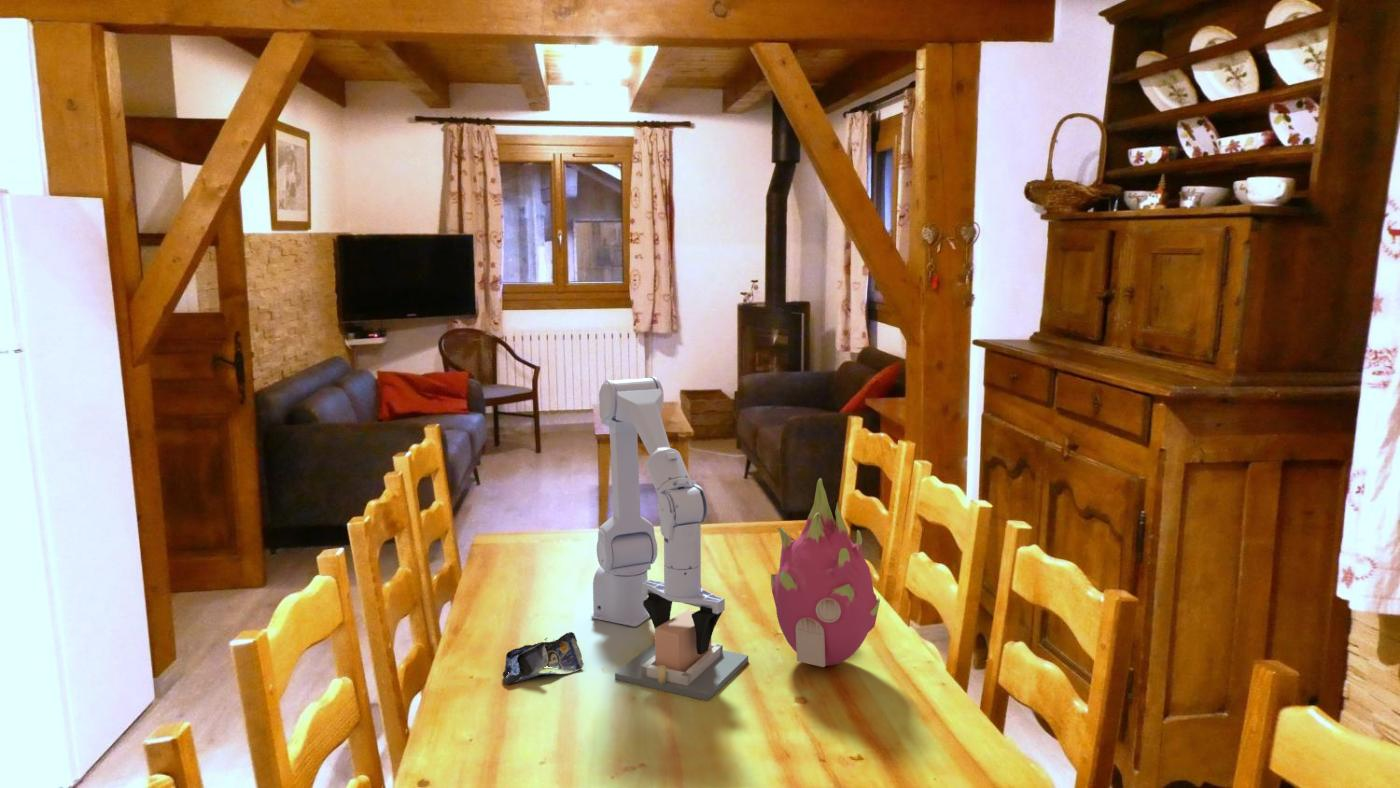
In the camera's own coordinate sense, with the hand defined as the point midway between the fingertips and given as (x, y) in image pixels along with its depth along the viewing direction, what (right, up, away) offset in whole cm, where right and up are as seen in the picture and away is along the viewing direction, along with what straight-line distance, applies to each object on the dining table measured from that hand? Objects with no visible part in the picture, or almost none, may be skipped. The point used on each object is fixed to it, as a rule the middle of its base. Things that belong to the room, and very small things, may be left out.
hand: (682, 646), depth 152 cm
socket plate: (0, -4, +1) cm, 4 cm away
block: (0, -3, +1) cm, 3 cm away
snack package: (-23, -5, +1) cm, 23 cm away
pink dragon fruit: (+22, -4, +3) cm, 23 cm away
